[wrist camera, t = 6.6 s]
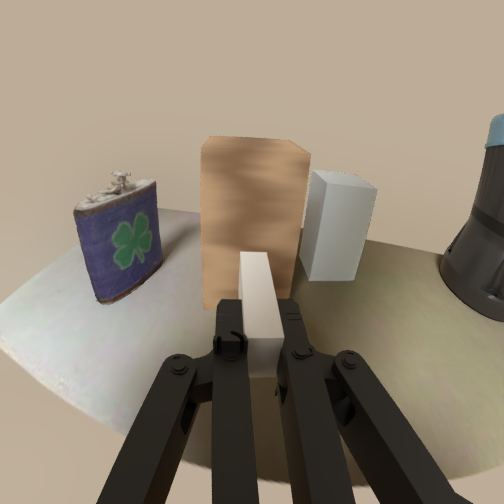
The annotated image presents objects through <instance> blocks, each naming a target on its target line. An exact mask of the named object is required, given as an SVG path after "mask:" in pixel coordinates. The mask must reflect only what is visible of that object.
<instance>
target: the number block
mask: <svg viewBox="0 0 504 504" xmlns="http://www.w3.org/2000/svg"><path fill="white" fill-rule="evenodd" d="M376 194H377V189H376V188H375V187H374V186H372V185H371V184H369V183H368V182H366V181H365V180H363V179H362V178H360V177H359V176H357V175H354V174H346V173H339V172H330V171H321V170H312V173H311V182H310V188H309V195H308V202H307V209H306V216H305V223H304V228H303V235H302V241H301V247H300V253H299V257H300V259H301V262H302V264H303V267H304V269H305V272H306V275H307V277H308V280H309V281H354V278H355V275H356V272H357V268H358V265H359V262H360V258H361V255H362V251H363V247H364V244H365V240H366V236H367V232H368V228H369V224H370V220H371V216H372V212H373V207H374V202H375V198H376Z"/></svg>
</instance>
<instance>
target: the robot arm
mask: <svg viewBox="0 0 504 504" xmlns="http://www.w3.org/2000/svg"><path fill="white" fill-rule="evenodd" d="M485 149H486V154H485V159H484V164H483V168H482V173H481V177H480V182H479V185H478V189H477V193H476V196H475V200H474V204H473V208H472V211H471V214H470V217H469V219H468V221H467V222H466V224H465V225H464V226H463V228H462V229H461V231H460V232H459V233H458V235H457V236H456V237H455V239H454V240H453V242H452V243H451V245H450V246H449V247H448V248H447V250H446V251H445V253H444V256H443V258H442V261H441V264H440V273H441V275H442V277H443V279H444V281H445V282H446V284H447V285H448V286H449V288H450V289H451V290H452V291H453V292H454V293H455V294H456V295H457V296H458V297H459V298H460V299H461V300H463V301H464V302H465V303H466V304H468V305H469V306H470V307H472V308H473V309H475V310H476V311H478V312H480V313H481V314H483V315H485V316H487V317H490V318H492V319H495V320H498V321H503V322H504V114H500V115H497V116H495V117H494V118H493V119H492V121H491V124H490V129H489V134H488V139H487V143H486V144H485ZM238 291H239V299H221V300H220V302H219V303H218V305H217V312H216V331H215V336H214V339H213V350H212V351H211V352H210V353H209V354H207V355H206V356H203V357H200V358H196V359H192V358H191V357H189V356H187V355H185V354H175V355H172V356H170V357H168V358H167V359H166V360H165V361H164V362H163V364H162V366H161V368H160V370H159V372H158V374H157V376H156V378H155V380H154V382H153V384H152V386H151V388H150V390H149V392H148V394H147V396H146V398H145V400H144V402H143V404H142V406H141V408H140V410H139V412H138V414H137V416H136V419H135V421H134V423H133V425H132V427H131V429H130V431H129V433H128V435H127V437H126V439H125V442H124V444H123V446H122V448H121V450H120V452H119V454H118V456H117V459H116V461H115V463H114V465H113V467H112V469H111V472H110V474H109V476H108V478H107V480H106V483H105V485H104V487H103V490H102V492H101V494H100V496H99V498H98V501H97V503H96V504H165V502H166V499H167V496H168V494H169V491H170V488H171V485H172V482H173V480H174V477H175V474H176V471H177V468H178V465H179V463H180V460H181V457H182V454H183V451H184V449H185V446H186V443H187V440H188V437H189V435H190V432H191V429H192V426H193V423H194V420H195V418H196V415H197V412H198V409H199V406H200V404H201V403H204V402H208V401H212V504H259V495H258V484H257V473H256V461H255V450H254V438H253V425H252V413H251V400H250V386H249V378H268V377H276V373H277V375H278V383H277V386H276V390H275V396H277V394H278V399H279V406H280V413H281V420H282V427H283V434H284V441H285V448H286V456H287V463H288V470H289V477H290V484H291V492H292V499H293V504H356V503H355V499H354V494H353V490H352V485H351V481H350V477H349V473H348V468H347V464H346V460H345V456H344V452H343V448H342V444H341V440H340V436H339V432H340V434H341V436H342V438H343V439H344V441H345V443H346V445H347V446H348V448H349V450H350V452H351V453H352V455H353V457H354V459H355V461H356V462H357V464H358V466H359V468H360V469H361V471H362V473H363V475H364V476H365V478H366V480H367V482H368V483H369V485H370V487H371V488H372V490H373V492H374V494H375V495H376V497H377V499H378V501H379V502H380V504H473V503H471V502H470V501H468V500H466V499H465V498H463V497H462V496H460V495H459V494H457V493H455V492H454V490H453V488H452V487H451V485H450V484H449V482H448V481H447V479H446V477H445V476H444V474H443V473H442V471H441V470H440V468H439V467H438V465H437V464H436V462H435V461H434V459H433V458H432V456H431V455H430V453H429V452H428V450H427V449H426V447H425V446H424V444H423V443H422V441H421V440H420V438H419V437H418V435H417V434H416V433H415V431H414V430H413V428H412V427H411V425H410V424H409V422H408V421H407V419H406V418H405V417H404V415H403V414H402V412H401V411H400V409H399V408H398V407H397V405H396V404H395V402H394V401H393V399H392V398H391V397H390V395H389V394H388V392H387V391H386V390H385V388H384V387H383V385H382V384H381V383H380V381H379V380H378V378H377V377H376V376H375V374H374V373H373V371H372V370H371V369H370V367H369V366H368V364H367V363H366V362H365V360H364V359H363V358H362V357H361V356H360V355H359V354H358V353H356V352H354V351H350V350H345V351H341V352H339V353H338V354H337V356H331V355H326V354H322V353H319V352H317V351H316V350H315V348H314V347H313V346H312V345H310V343H309V341H308V337H307V334H306V330H305V327H304V323H303V321H302V317H301V314H300V310H299V306H298V305H297V304H296V302H295V301H294V300H293V299H276V294H275V290H274V285H273V280H272V275H271V271H270V266H269V261H268V257H267V252H240V268H239V289H238ZM338 430H339V432H338Z"/></svg>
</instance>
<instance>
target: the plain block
mask: <svg viewBox="0 0 504 504" xmlns="http://www.w3.org/2000/svg"><path fill="white" fill-rule="evenodd" d="M310 156H311V154H310V153H309V152H307V151H306V150H304V149H303V148H301V147H300V146H298V145H297V144H295V143H293V142H292V141H290V140H280V139H267V138H251V137H225V136H210V137H209V138H208V139H207V141H206V142H205V143H204V144H203V146H202V147H201V255H202V282H203V303H204V309H212V310H217V305H218V303H219V302H220V300H221V299H239V291H238V289H239V268H240V252H267V257H268V261H269V266H270V271H271V275H272V280H273V285H274V290H275V294H276V299H289V295H290V290H291V284H292V279H293V273H294V267H295V261H296V255H297V249H298V243H299V236H300V230H301V223H302V217H303V210H304V203H305V196H306V189H307V181H308V174H309V166H310V158H311V157H310Z"/></svg>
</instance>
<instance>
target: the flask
mask: <svg viewBox="0 0 504 504" xmlns="http://www.w3.org/2000/svg"><path fill="white" fill-rule="evenodd" d="M111 174H113V176H114V179H113V181H112V182H111V184H110V185H109V186H108V187H107V190H106V191H100V192H98V193H101V194H99V195H98V196H96V197H92V195H90V194H88V195H87V199H85V200H84V201H82V202H81V203H79V204H77V206H76V207H75V209H74V212H73V214H74V217H75V221H76V225H77V232H78V236H79V239H80V244H81V248H82V252H83V255H84V259H85V264H86V267H87V271H88V273H89V277H90V280H91V284H92V287H93V290H94V293H95V296H96V298H97V300H96V301H98V302H99V303H101V304H102V305H108V304H112V303H114V302H116V301H118V300H120V299H121V298H123V297H124V296H126V295H128V294H130V292H132V291H134V290H135V289H137V288H138V286H139V285H141V284H142V283H143V282H144V281H145V280H147V279H148V278H149V277H150V276H151V275H152V274H153V273H154V272H155V271H156V270H157V269H158V268H159V267H160V266H161V264H162V260H163V256H162V250H161V240H160V233H159V220H158V209H157V195H156V181H155V180H153V179H139V180H136V181H134V182H132V183H130V184H129V182H128V181H126V176H127V175H128V174H127V173H122V172H121V171H117V172H112V173H111ZM130 175H131V173H129V176H130ZM104 193H105V194H104Z"/></svg>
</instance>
